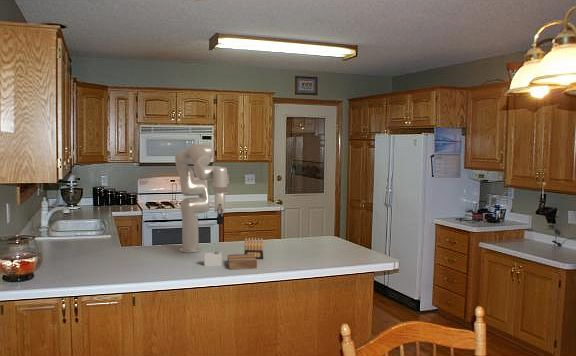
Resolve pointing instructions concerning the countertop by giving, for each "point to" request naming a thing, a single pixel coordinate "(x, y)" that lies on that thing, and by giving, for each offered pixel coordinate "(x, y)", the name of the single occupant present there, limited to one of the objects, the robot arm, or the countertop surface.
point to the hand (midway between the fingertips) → (220, 222)
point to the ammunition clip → (254, 248)
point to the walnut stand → (242, 261)
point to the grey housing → (213, 259)
